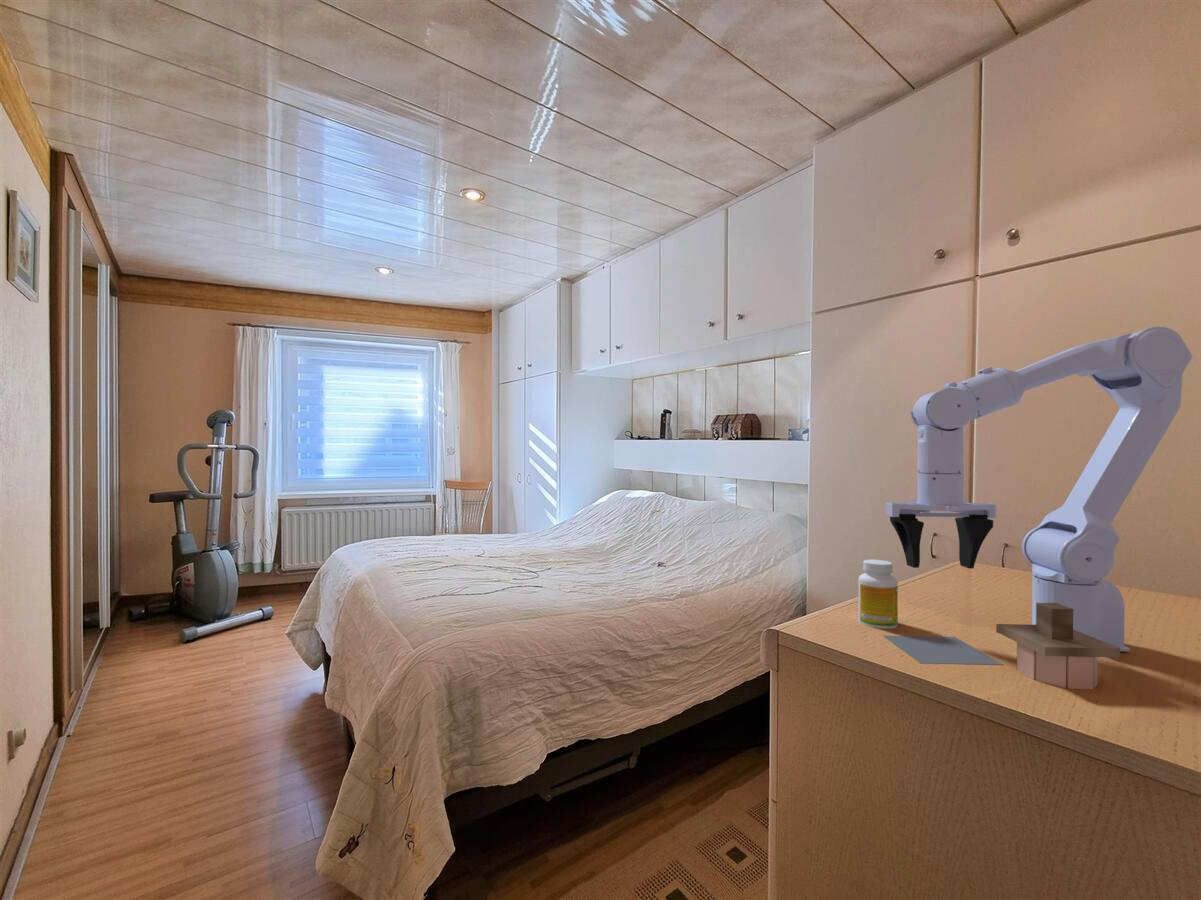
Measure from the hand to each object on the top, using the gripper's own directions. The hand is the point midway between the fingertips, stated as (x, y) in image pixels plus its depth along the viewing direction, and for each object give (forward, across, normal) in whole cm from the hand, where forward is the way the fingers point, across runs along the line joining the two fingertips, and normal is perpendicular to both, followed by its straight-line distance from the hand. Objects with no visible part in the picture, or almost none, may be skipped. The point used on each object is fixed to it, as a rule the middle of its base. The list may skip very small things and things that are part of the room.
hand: (939, 566), depth 80 cm
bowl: (+10, +5, -15) cm, 19 cm away
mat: (+10, -4, -7) cm, 13 cm away
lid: (+6, +5, -15) cm, 17 cm away
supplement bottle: (+10, -7, +4) cm, 13 cm away
